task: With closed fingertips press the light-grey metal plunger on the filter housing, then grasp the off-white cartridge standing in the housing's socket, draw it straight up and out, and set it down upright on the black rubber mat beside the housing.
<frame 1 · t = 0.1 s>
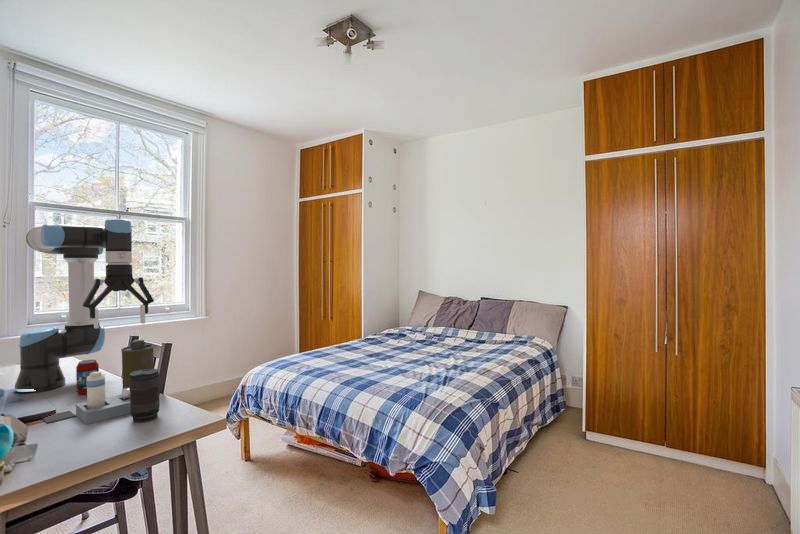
hand: (120, 325, 140), 28 cm above the table, fingers open, 13 cm apart
mat: (58, 417, 130), on the table
plunger: (128, 394, 138), point 5 cm above the table, slide at 0.0 cm
housing: (111, 412, 134), on the table
canister: (139, 393, 154), on the table
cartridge: (96, 415, 131), resting in housing
camera lens: (145, 419, 129), on the table
beverage can: (88, 393, 155), on the table
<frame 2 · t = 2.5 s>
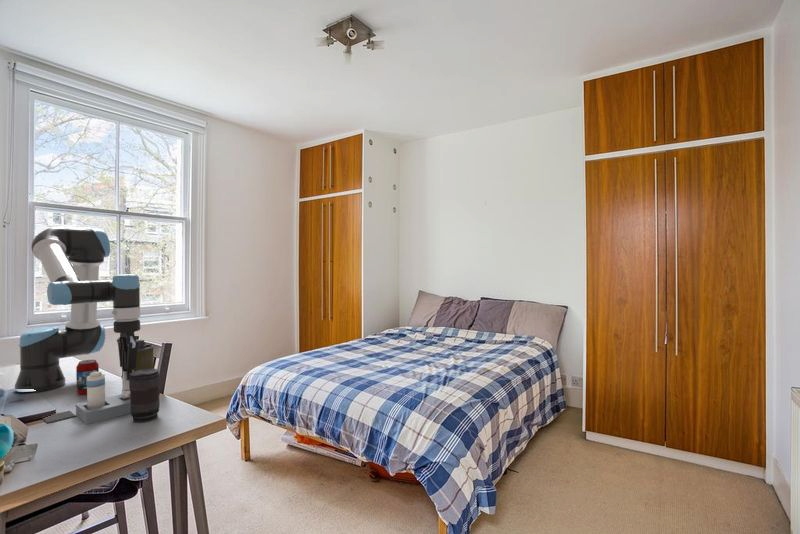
hand: (128, 388, 138), 7 cm above the table, fingers closed
plunger: (128, 395, 138), point 4 cm above the table, slide at 0.2 cm, touching gripper
everything else where it was.
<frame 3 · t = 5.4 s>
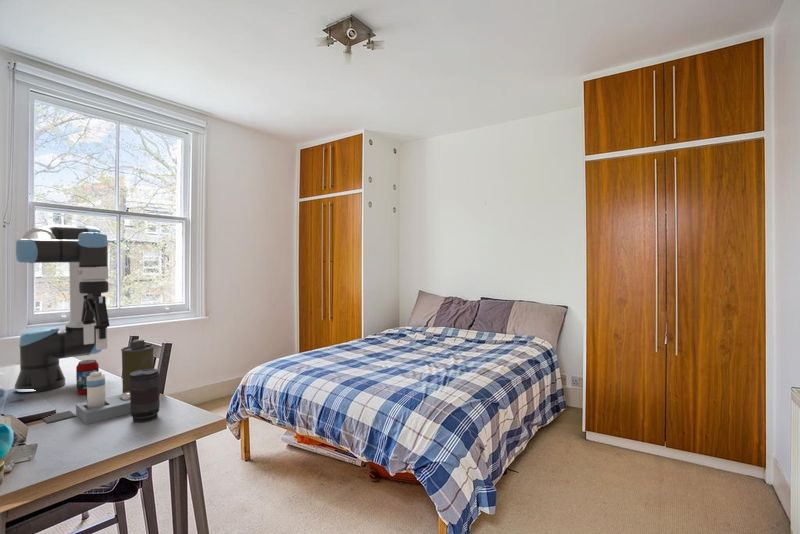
hand: (95, 346, 131), 23 cm above the table, fingers open, 13 cm apart
plunger: (128, 399, 138), point 3 cm above the table, slide at 1.5 cm
everything else where it was.
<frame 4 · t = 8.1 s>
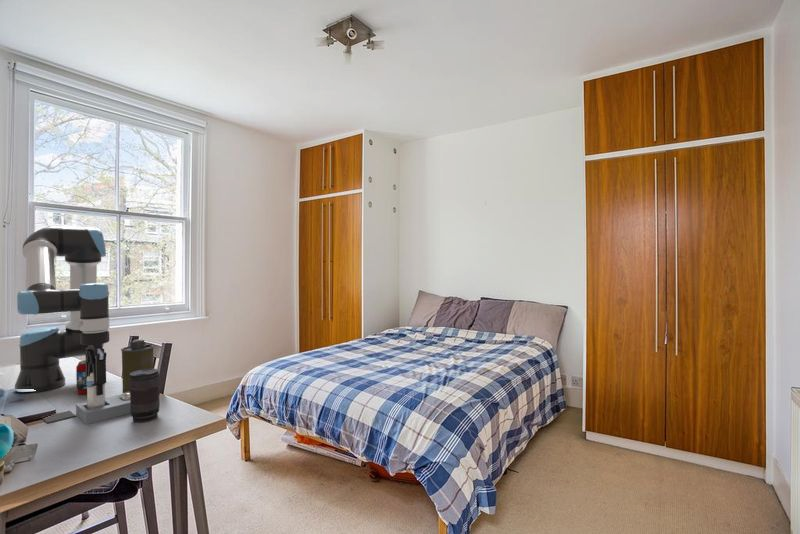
hand: (96, 402, 131), 4 cm above the table, fingers closed on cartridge, 5 cm apart
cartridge: (96, 415, 131), resting in housing, touching gripper
everything else where it was.
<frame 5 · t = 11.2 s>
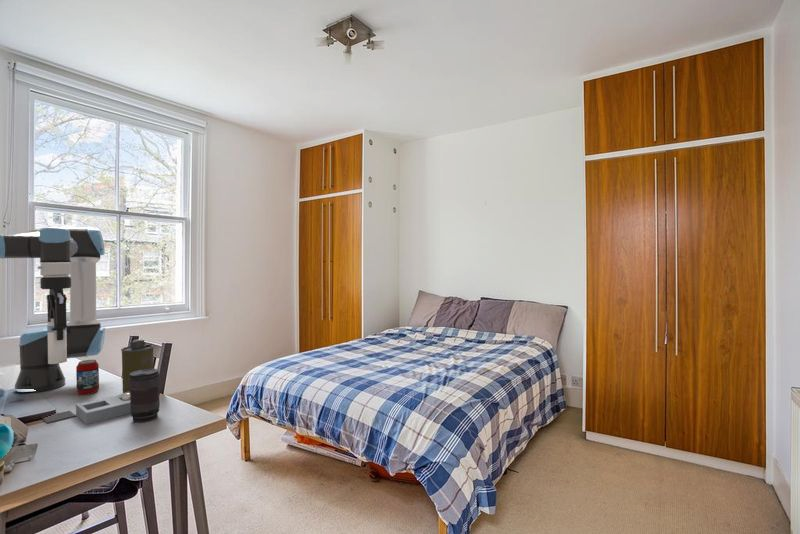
hand: (57, 349, 130), 22 cm above the table, fingers closed on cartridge, 5 cm apart
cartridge: (57, 362, 130), point 18 cm above the table, touching gripper
everything else where it was.
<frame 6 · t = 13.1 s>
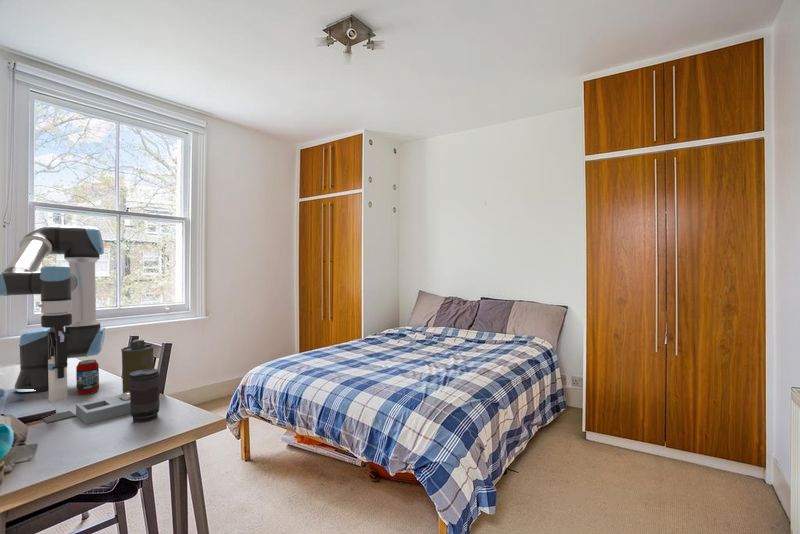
hand: (58, 386, 130), 10 cm above the table, fingers closed on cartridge, 5 cm apart
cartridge: (58, 399, 130), point 6 cm above the table, touching gripper
everything else where it was.
when the fingers open (6 cm above the table, at t = 14.7 s): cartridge stays where it is, resting on mat.
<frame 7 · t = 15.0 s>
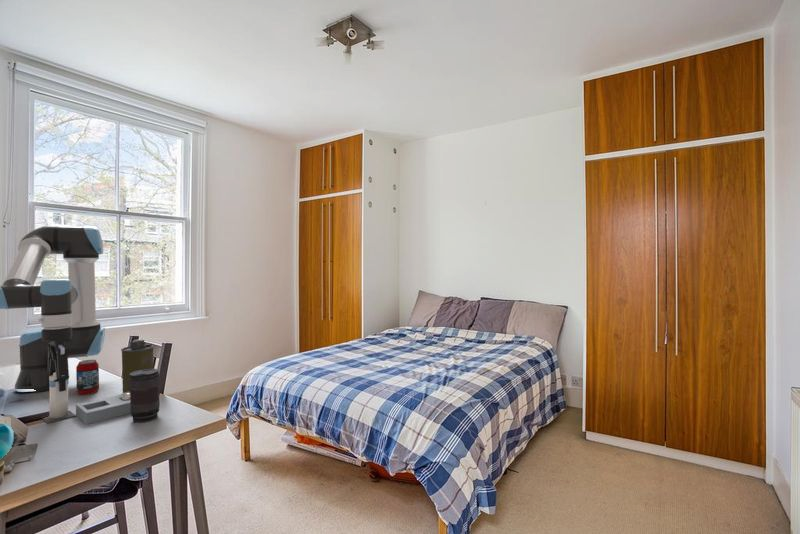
hand: (58, 398, 130), 6 cm above the table, fingers open, 8 cm apart
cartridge: (58, 416, 130), resting on mat
everything else where it was.
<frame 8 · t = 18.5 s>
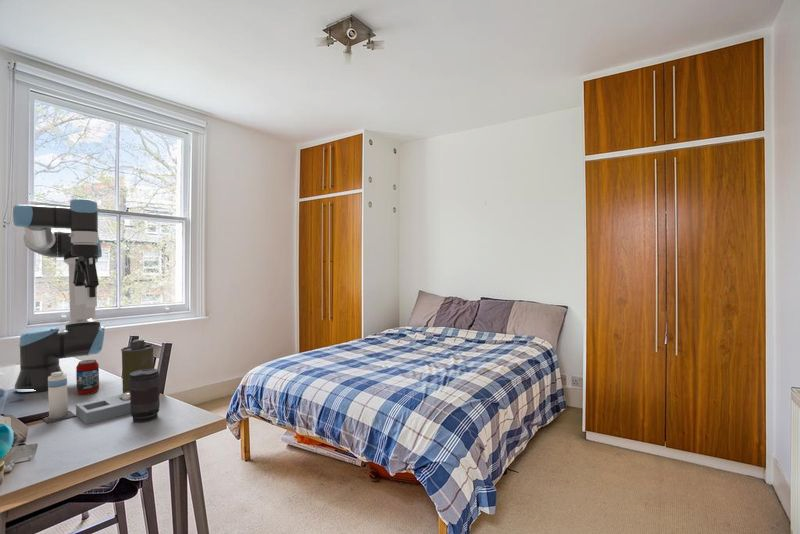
hand: (86, 305, 140), 35 cm above the table, fingers open, 13 cm apart
nothing on the table moved.
at the end: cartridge inside the target area on the mat (0.0 cm from its centre), point 0.4 cm above the mat's base; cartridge tilted 1°; plunger slide at 1.5 cm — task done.
